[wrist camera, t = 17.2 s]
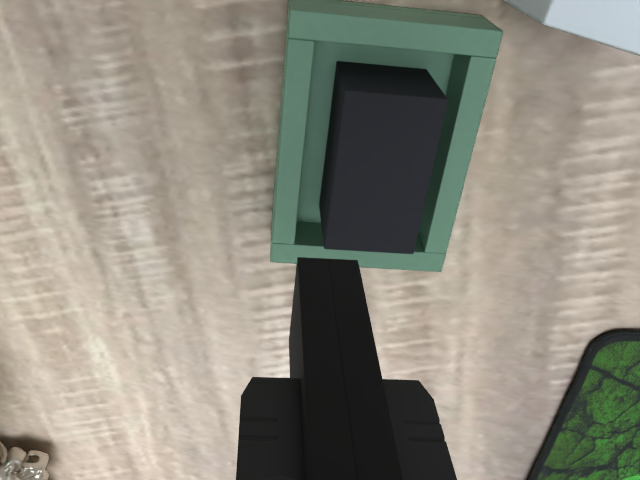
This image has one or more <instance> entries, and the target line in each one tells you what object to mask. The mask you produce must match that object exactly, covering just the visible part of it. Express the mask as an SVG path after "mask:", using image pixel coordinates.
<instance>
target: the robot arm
mask: <svg viewBox="0 0 640 480" xmlns="http://www.w3.org/2000/svg"><path fill="white" fill-rule="evenodd" d="M289 356H290V378H266V377H252V379H251V380H250V382H249V384H248V385H247V387H246V389H245V390H244V392H243V394H242V395H241V407H240V424H239V440H238V457H237V473H236V480H457V478H456V475H455V471H454V468H453V464H452V461H451V458H450V454H449V451H448V447H447V444H446V442H445V441H444V438H445V437H444V434H443V430H442V427H441V424H440V423H439V417H438V413H437V410H436V406H435V403H434V399H433V398H432V397H431V395H430V394H429V393H428V392H427V390H426V389H425V388H424V387H423V385H422V384H421V383H420V382H419V380H387V379H382V376H381V371H380V366H379V361H378V356H377V351H376V346H375V342H374V337H373V332H372V327H371V322H370V317H369V312H368V308H367V303H366V298H365V293H364V288H363V283H362V278H361V274H360V269H359V264H358V260H346V259H326V258H306V257H297V267H296V277H295V287H294V297H293V307H292V317H291V326H290V336H289Z"/></svg>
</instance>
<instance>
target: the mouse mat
mask: <svg viewBox="0 0 640 480" xmlns="http://www.w3.org/2000/svg"><path fill="white" fill-rule="evenodd" d="M529 480H640V331H629V330H627V331H625V330H617V331H612V332H610V333H606V334H604V335H602V336H600V337H599V338H598V339H596V340H595V341H594V342H593V343H592V344H591V345H590V346H589V347H588V349H587V351H586V354H585V356H584V359H583V361H582V364H581V366H580V369H579V372H578V374H577V376H576V378H575V380H574V383H573V385H572V387H571V389H570V391H569V392H568V394H567V397H566V399H565V401H564V403H563V405H562V407H561V409H560V412H559V414H558V416H557V418H556V420H555V422H554V425H553V427H552V429H551V432H550V434H549V437H548V439H547V441H546V443H545V445H544V448H543V449H542V452H541V454H540V456H539V458H538V459H537V462H536V464H535V466H534V468H533V470H532V473H531V475H530V477H529Z"/></svg>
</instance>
